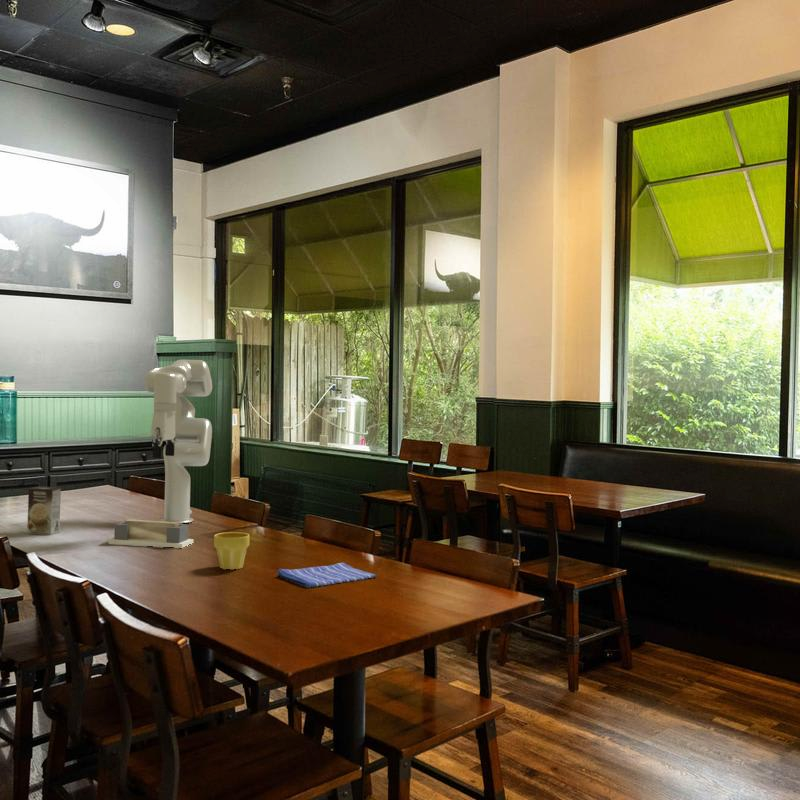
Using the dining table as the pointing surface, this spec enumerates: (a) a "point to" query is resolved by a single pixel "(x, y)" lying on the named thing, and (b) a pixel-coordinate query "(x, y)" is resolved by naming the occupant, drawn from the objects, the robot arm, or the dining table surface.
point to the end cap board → (175, 539)
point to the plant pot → (231, 549)
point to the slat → (149, 529)
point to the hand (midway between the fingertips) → (163, 456)
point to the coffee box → (43, 510)
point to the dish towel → (324, 575)
